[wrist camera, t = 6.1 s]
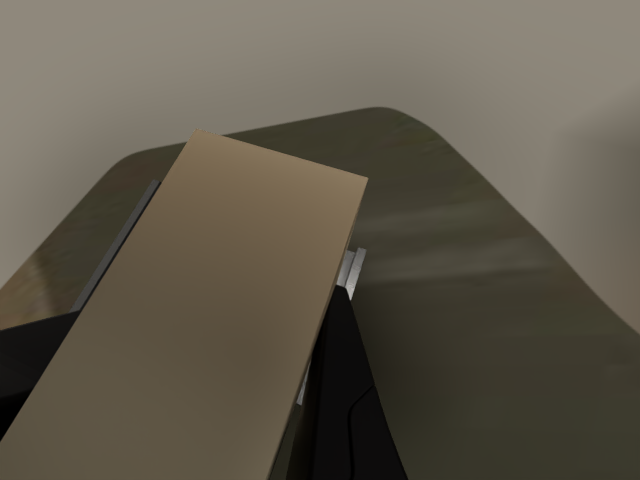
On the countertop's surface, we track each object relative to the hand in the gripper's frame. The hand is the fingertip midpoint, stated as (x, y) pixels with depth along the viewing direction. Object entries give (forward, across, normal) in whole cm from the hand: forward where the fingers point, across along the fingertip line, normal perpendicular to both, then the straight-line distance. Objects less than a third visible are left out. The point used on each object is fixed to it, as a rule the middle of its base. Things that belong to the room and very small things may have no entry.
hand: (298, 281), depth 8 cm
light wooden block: (+3, 0, +5) cm, 6 cm away
